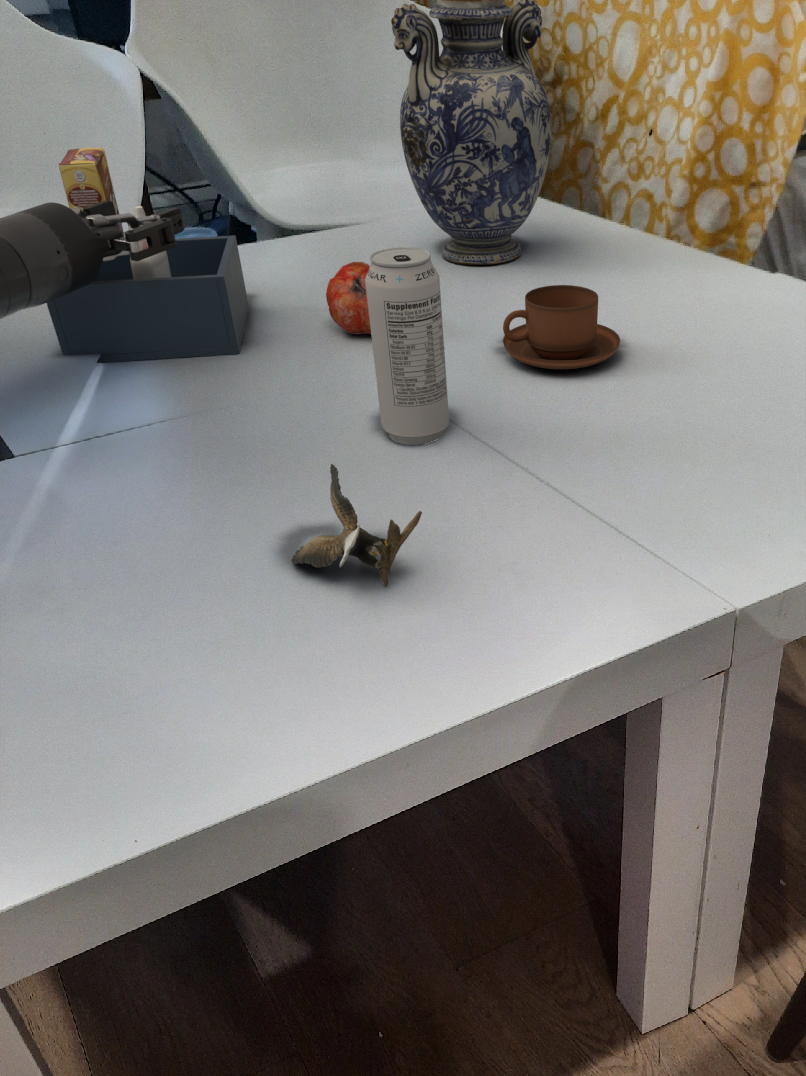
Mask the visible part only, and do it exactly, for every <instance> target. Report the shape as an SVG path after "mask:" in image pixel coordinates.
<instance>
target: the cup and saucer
mask: <svg viewBox="0 0 806 1076" xmlns="http://www.w3.org/2000/svg"><path fill="white" fill-rule="evenodd" d="M598 314H599V295H598V293H597V292H596V291H595V290H593V289H591V288H588V287H585V286H579V285H572V284H571V285H570V284H568V285H567V284H554V285H545V286H540V287H537V288H533V289H531V290H529V291H528V292H526V294H525V295H524V309H518V310H517V309H516V310H514V311H512V312H510V313H509V314H507V316H506V317H505V318H504V320H503V323H502V330H503V334H504V336H503V338H502V344H503V347H504V349H505V351H506V352H507V353H508V354H509V355H510V356H511V357H512V358H513V359H515V360H517V361H519V362H520V363H523V364H526V365H528V366H532V367H535V368H540V369H547V370H549V369H550V370H574V369H582V368H587V367H591V366H595V365H597V364H600V363H602V362H604V361H606V360H608V359H609V358H610V357H612V356H613V355H614V354H615V353H616V352H617V351H618V349H619V347H620V343H621V338H620V335H619V334H618V333H617V332H616V331H615V330H614V329H612V328H610V327H607V326H606V325H603V324H599V323H598V318H599V317H598V316H599V315H598ZM516 318H522V319H525V323H524V324H521V325H519V326H516V327H513V328H512V329H510V326H511V323H512V322H513V320H514V319H516Z"/></svg>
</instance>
